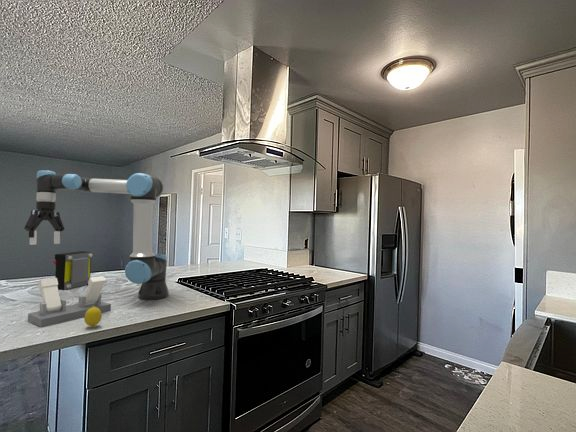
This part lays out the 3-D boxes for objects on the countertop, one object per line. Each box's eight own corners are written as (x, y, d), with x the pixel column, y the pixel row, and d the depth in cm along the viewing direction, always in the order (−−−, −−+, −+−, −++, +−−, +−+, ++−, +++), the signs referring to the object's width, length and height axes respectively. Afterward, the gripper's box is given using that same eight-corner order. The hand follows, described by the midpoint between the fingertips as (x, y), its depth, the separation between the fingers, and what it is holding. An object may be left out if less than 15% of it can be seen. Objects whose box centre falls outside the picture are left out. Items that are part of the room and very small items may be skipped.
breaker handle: (80, 301, 132) (89, 277, 129) (94, 298, 137) (103, 275, 134) (83, 306, 131) (92, 282, 128) (97, 303, 136) (106, 280, 133)
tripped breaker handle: (43, 313, 120) (37, 282, 123) (59, 310, 124) (53, 280, 128) (46, 310, 118) (40, 279, 122) (63, 307, 123) (56, 277, 127)
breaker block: (27, 320, 119) (28, 302, 120) (96, 306, 142) (97, 290, 142) (40, 327, 113) (41, 307, 114) (110, 310, 136) (111, 294, 136)
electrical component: (66, 290, 168) (68, 255, 169) (52, 289, 170) (53, 254, 171) (92, 284, 186) (94, 252, 186) (79, 282, 188) (80, 251, 188)
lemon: (89, 324, 118) (90, 304, 118) (103, 324, 118) (104, 304, 119) (80, 329, 113) (81, 308, 113) (96, 329, 113) (97, 308, 113)
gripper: (59, 204, 162) (59, 243, 160) (14, 199, 137) (13, 245, 136) (72, 204, 161) (72, 243, 160) (30, 198, 137) (29, 244, 135)
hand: (45, 244), depth 148 cm, fingers open, 13 cm apart
